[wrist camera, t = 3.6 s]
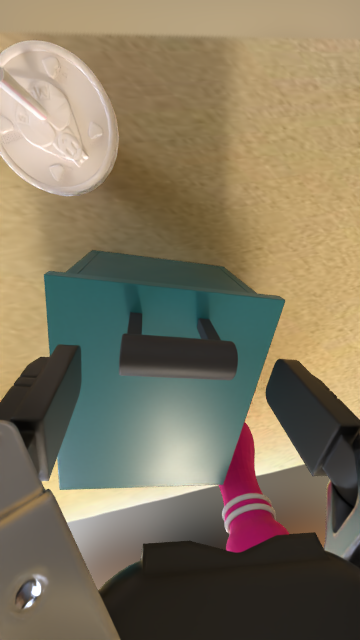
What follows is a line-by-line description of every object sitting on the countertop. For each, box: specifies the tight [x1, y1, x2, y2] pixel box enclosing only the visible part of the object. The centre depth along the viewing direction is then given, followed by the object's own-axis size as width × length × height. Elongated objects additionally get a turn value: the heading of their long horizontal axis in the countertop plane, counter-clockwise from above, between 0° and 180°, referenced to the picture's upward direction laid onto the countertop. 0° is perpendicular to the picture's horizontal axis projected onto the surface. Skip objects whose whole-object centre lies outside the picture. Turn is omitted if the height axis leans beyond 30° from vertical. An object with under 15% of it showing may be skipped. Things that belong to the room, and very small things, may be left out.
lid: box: [44, 271, 285, 490], centre depth 16 cm, size 17×14×6 cm
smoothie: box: [0, 40, 119, 196], centre depth 15 cm, size 6×6×14 cm
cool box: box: [65, 250, 257, 294], centre depth 24 cm, size 17×14×12 cm
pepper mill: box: [219, 422, 289, 553], centre depth 27 cm, size 7×7×20 cm
